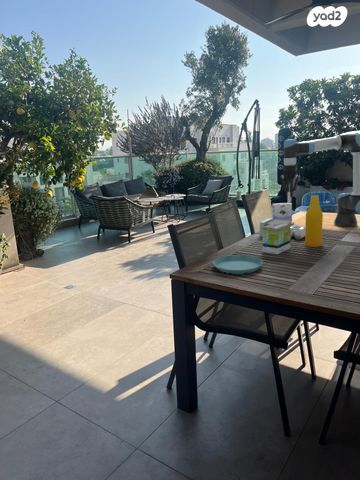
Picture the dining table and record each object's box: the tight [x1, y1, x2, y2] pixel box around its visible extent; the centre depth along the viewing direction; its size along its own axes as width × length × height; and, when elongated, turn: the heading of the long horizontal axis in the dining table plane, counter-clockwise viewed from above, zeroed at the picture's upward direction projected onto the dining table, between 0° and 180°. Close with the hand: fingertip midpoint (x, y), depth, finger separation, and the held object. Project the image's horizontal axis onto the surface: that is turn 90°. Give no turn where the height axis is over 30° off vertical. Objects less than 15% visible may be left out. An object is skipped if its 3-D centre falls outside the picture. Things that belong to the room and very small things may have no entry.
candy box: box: [271, 202, 293, 222], centre depth 263 cm, size 14×6×16 cm, turn 84°
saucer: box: [212, 254, 264, 275], centre depth 171 cm, size 24×24×3 cm
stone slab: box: [267, 220, 293, 226], centre depth 231 cm, size 12×14×2 cm
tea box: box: [262, 223, 292, 255], centre depth 195 cm, size 15×10×15 cm, turn 137°
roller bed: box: [291, 224, 306, 240], centre depth 226 cm, size 13×16×6 cm
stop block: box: [259, 217, 273, 237], centre depth 237 cm, size 3×16×10 cm, turn 144°
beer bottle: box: [304, 194, 324, 248], centre depth 200 cm, size 9×9×29 cm
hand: (289, 202), depth 224 cm, fingers closed
